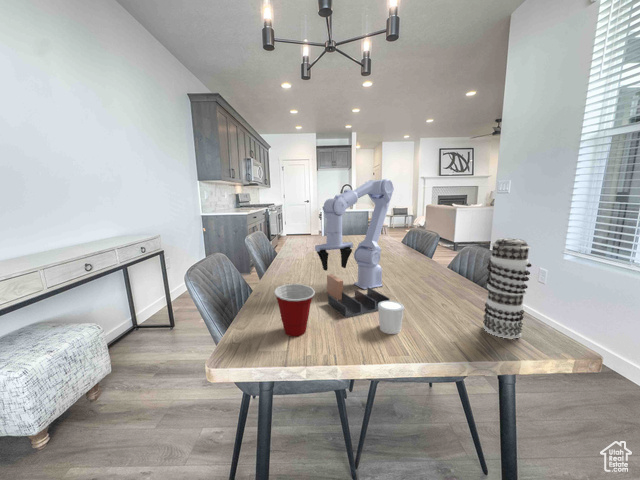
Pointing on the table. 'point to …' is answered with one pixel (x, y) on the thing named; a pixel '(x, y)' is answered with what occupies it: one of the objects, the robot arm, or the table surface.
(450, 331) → the table surface
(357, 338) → the table surface
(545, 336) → the table surface
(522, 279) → the decorative candle
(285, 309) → the plastic cup
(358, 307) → the rack
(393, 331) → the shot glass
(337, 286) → the upright salmon slab
